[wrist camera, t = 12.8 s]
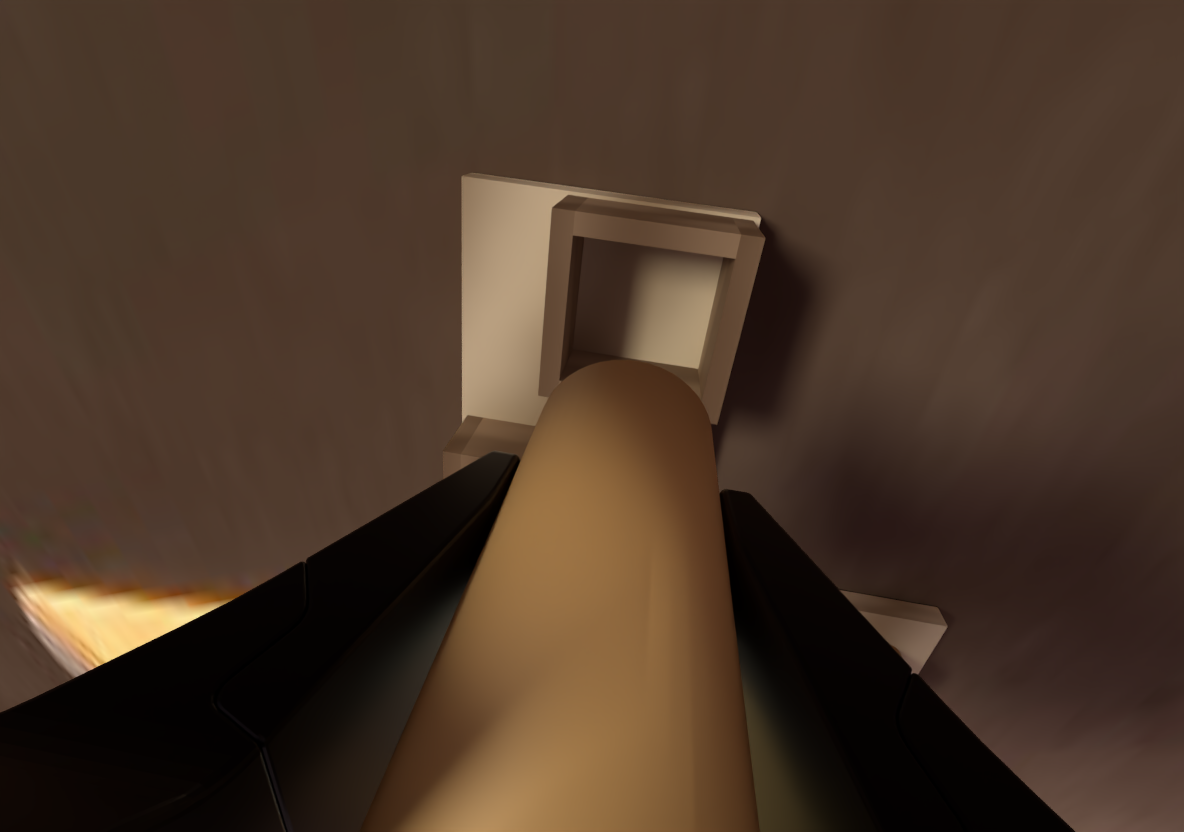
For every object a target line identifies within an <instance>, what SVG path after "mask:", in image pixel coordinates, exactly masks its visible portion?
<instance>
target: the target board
mask: <svg viewBox="0 0 1184 832" xmlns="http://www.w3.org/2000/svg"><path fill="white" fill-rule="evenodd" d="M760 221H761V217H760V216H759V214H758V213H757V212H751V211H744V210H737V209H730V208H723V207H715V206H708V205H701V204H694V203H687V202H679V201H672V200H665V199H658V198H651V197H644V196H636V195H629V194H622V193H615V192H608V191H600V190H593V189H586V188H579V187H572V186H564V185H557V184H550V183H543V182H536V181H529V180H521V179H514V178H507V177H500V176H493V175H485V174H478V173H470V174H467V175H464V176H462V424H461V425H460V427H459V428H458V430H457V431H456V433H455V434H454V436H453V437H452V439H451V440H450V442H449V443H448V444H447V446H446V447H445V449H444V450H443V479H444V478H446V477H448V476H450V475H451V474H453V473H455V472H457V471H458V470H460V469H462V468H463V467H465V466H467V465H469V464H470V463H472V462H474V461H476V460H477V459H479V458H481V457H482V456H484V455H486V454H488V453H489V452H491V451H501V452H507V453H513V454H517V455H518V456H519V458H520V461H521V458H522V456H523V454H524V452H525V449H526V447H527V445H528V442H529V440H530V438H531V435H532V433H533V431H534V429H535V426H536V424H537V422H538V419H539V417H540V415H541V412H542V410H543V408H544V406H545V404H546V402H547V400H548V398H549V396H550V395H551V393H552V392H553V391H554V389H555V388H556V387H557V386H558V385H559V384H560V383H561V382H562V381H563V380H564V379H566V378H567V377H568V376H569V375H571V374H573V373H574V372H576V371H578V370H579V369H582V368H584V367H586V366H589V365H592V364H595V363H599V362H603V361H610V360H634V361H640V362H645V363H649V364H652V365H655V366H658V367H661V368H663V369H665V370H667V371H669V372H671V373H673V374H674V375H676V376H677V377H679V378H680V379H682V380H683V381H684V382H685V383H686V384H687V385H688V386H690V387H691V388H692V390H693V391H694V392H695V393H696V394H697V395H698V397H699V398H700V400H701V401H702V403H703V405H704V407H705V409H706V411H707V413H708V416H709V419H710V423H711V424H716V425H717V424H718V420H719V416H720V412H721V408H722V404H723V401H724V397H725V393H726V389H727V385H728V381H729V377H730V373H731V370H732V366H733V362H734V358H735V354H736V350H737V346H738V343H739V339H740V335H741V331H742V327H743V323H744V319H745V316H746V312H747V308H748V304H749V300H750V296H751V292H752V288H753V285H754V281H755V277H756V273H757V269H758V265H759V261H760V258H761V254H762V250H763V246H764V242H765V237H764V235H763V234H762V232H761V231H760V229H759V225H760Z"/></svg>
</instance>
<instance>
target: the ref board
mask: <svg viewBox="0 0 1184 832" xmlns="http://www.w3.org/2000/svg"><path fill="white" fill-rule="evenodd" d="M840 591H841V592H842V593H843V594H844V595H845V596H846V597H847V599H848V600H849V601H850V602H851V603H852V604H853V605H854V606H855V607H856V608H857V609H858V610H859V612H860V613H861V614H862V615H863V616H864V617H865V618H866V619H867V620H868V621H869V622H870V623H871V624H872V626H873V627H874V628H875V629H876V630H877V631H878V632H879V633H880V634H881V635H882V636H883V637H884V639H885V640H886V641H887V642H888V643H889V644H890V645H891V646H892V647H893V648H894V649H895V650H896V651H897V653H898V654H899V655H900V656H901V657H902V658H903V659H904V660H905V661H906V662H907V663H908V664H909V666H910V667H911V668H912V673H916V674H919V672H920V670H921V669H922V667H923V666H924V664H925V662H926V661H927V659H928V658H929V656H930V654H931V653H932V651H933V650H934V648H935V646H936V645H937V643H938V642H939V640H940V638H941V637H942V635H943V634H944V632H945V630H946V629H947V627H948V626H947V624H946V622H945V620H944V618H943V617H942V615H941V613H940V611H939V609H938V607H933V606H928V605H922V604H916V603H911V602H905V601H899V600H894V599H888V598H882V597H877V596H871V595H865V594H860V593H854V592H848V591H843V590H840ZM912 673H911V674H912Z"/></svg>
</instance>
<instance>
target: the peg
mask: <svg viewBox="0 0 1184 832" xmlns="http://www.w3.org/2000/svg"><path fill="white" fill-rule="evenodd" d="M359 832H760V829H759V820H758V812H757V804H756V795H755V787H754V778H753V770H752V762H751V753H750V745H749V737H748V728H747V720H746V712H745V703H744V695H743V687H742V678H741V670H740V662H739V653H738V645H737V636H736V628H735V620H734V611H733V603H732V595H731V586H730V578H729V570H728V561H727V553H726V545H725V536H724V528H723V519H722V511H721V503H720V494H719V486H718V478H717V469H716V461H715V453H714V444H713V436H712V428H711V423H710V419H709V416H708V413H707V411H706V409H705V407H704V405H703V403H702V401H701V400H700V398H699V397H698V395H697V394H696V393H695V392H694V391H693V390H692V388H691V387H690V386H688V385H687V384H686V383H685V382H684V381H683V380H682V379H680V378H679V377H677V376H676V375H674V374H673V373H671V372H669V371H667V370H665V369H663V368H661V367H658V366H655V365H652V364H649V363H645V362H640V361H634V360H610V361H603V362H599V363H595V364H592V365H589V366H586V367H584V368H582V369H579V370H578V371H576V372H574V373H573V374H571V375H569V376H568V377H567V378H566V379H564V380H563V381H562V382H561V383H560V384H559V385H558V386H557V387H556V388H555V389H554V391H553V392H552V393H551V395H550V396H549V398H548V400H547V402H546V404H545V406H544V408H543V410H542V412H541V415H540V417H539V419H538V422H537V424H536V426H535V429H534V431H533V433H532V435H531V438H530V440H529V442H528V445H527V447H526V449H525V452H524V454H523V456H522V458H521V461H520V463H519V465H518V468H517V470H516V472H515V475H514V477H513V479H512V481H511V484H510V486H509V488H508V491H507V493H506V495H505V498H504V500H503V502H502V504H501V507H500V509H499V511H498V514H497V516H496V518H495V521H494V523H493V525H492V527H491V530H490V532H489V534H488V537H487V539H486V541H485V544H484V546H483V548H482V550H481V553H480V555H479V557H478V560H477V562H476V564H475V567H474V569H473V571H472V573H471V576H470V578H469V580H468V583H467V585H466V587H465V590H464V592H463V594H462V597H461V599H460V601H459V603H458V606H457V608H456V610H455V613H454V615H453V617H452V620H451V622H450V624H449V626H448V629H447V631H446V633H445V636H444V638H443V640H442V643H441V645H440V647H439V649H438V652H437V654H436V656H435V659H434V661H433V663H432V666H431V668H430V670H429V672H428V675H427V677H426V679H425V682H424V684H423V686H422V689H421V691H420V693H419V695H418V698H417V700H416V702H415V705H414V707H413V709H412V712H411V714H410V716H409V718H408V721H407V723H406V725H405V728H404V730H403V732H402V735H401V737H400V739H399V741H398V744H397V746H396V748H395V751H394V753H393V755H392V758H391V760H390V762H389V764H388V767H387V769H386V771H385V774H384V776H383V778H382V781H381V783H380V785H379V787H378V790H377V792H376V794H375V797H374V799H373V801H372V804H371V806H370V808H369V810H368V813H367V815H366V817H365V820H364V822H363V824H362V827H361V829H360V831H359Z"/></svg>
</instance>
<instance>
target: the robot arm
mask: <svg viewBox="0 0 1184 832" xmlns="http://www.w3.org/2000/svg"><path fill="white" fill-rule="evenodd" d="M519 463H520V458H519V456H518V455H517V454H513V453H507V452H501V451H491V452H489V453H488V454H486V455H484V456H482V457H481V458H479V459H477V460H476V461H474V462H472V463H470V464H469V465H467V466H465V467H463V468H462V469H460V470H458V471H457V472H455V473H453V474H451V475H450V476H448V477H446V478H444V479H443V480H441V481H439V482H438V483H436V484H434V485H432V486H431V487H429V488H427V489H426V490H424V491H422V492H420V493H419V494H417V495H415V496H413V497H412V498H410V499H408V500H407V501H405V502H403V503H401V504H400V505H398V506H396V507H395V508H393V509H391V510H389V511H388V512H386V513H384V514H382V515H381V516H379V517H377V518H376V519H374V520H372V521H370V522H369V523H367V524H365V525H364V526H362V527H360V528H358V529H357V530H355V531H353V532H351V533H350V534H348V535H346V536H345V537H343V538H341V539H339V540H338V541H336V542H334V543H332V544H331V545H329V546H327V547H326V548H324V549H322V550H320V551H319V552H317V553H315V554H314V555H312V556H310V557H308V558H307V560H306V563H305V562H299V563H298V564H296V565H294V566H292V567H291V568H289V569H287V570H286V571H284V572H282V573H280V574H279V575H277V576H275V577H273V578H272V579H270V580H268V581H266V582H264V583H263V584H261V585H259V586H257V587H255V588H254V589H252V590H250V591H248V592H246V593H244V594H243V595H241V596H239V597H237V598H235V599H234V600H232V601H230V602H228V603H226V604H224V605H222V606H220V607H218V608H216V609H214V610H212V611H210V612H208V613H206V614H204V615H202V616H200V617H198V618H196V619H194V620H192V621H190V622H188V623H186V624H185V625H183V626H181V627H179V628H177V629H175V630H172V631H170V632H168V633H166V634H164V635H162V636H160V637H158V638H156V639H154V640H152V641H150V642H148V643H146V644H144V645H142V646H140V647H137V648H135V649H133V650H131V651H129V652H127V653H125V654H123V655H121V656H119V657H117V658H115V659H113V660H111V661H109V662H107V663H104V664H102V665H100V666H98V667H96V668H94V669H92V670H90V671H88V672H86V673H84V674H82V675H80V676H78V677H76V678H74V679H72V680H69V681H67V682H65V683H63V684H61V685H59V686H57V687H55V688H53V689H51V690H49V691H47V692H45V693H43V694H41V695H39V696H36V697H34V698H32V699H30V700H28V701H26V702H23V703H21V704H19V705H17V706H14V707H12V708H10V709H8V710H5V711H3V712H0V832H359V831H360V829H361V827H362V824H363V822H364V820H365V817H366V815H367V813H368V810H369V808H370V806H371V804H372V801H373V799H374V797H375V794H376V792H377V790H378V787H379V785H380V783H381V781H382V778H383V776H384V774H385V771H386V769H387V767H388V764H389V762H390V760H391V758H392V755H393V753H394V751H395V748H396V746H397V744H398V741H399V739H400V737H401V735H402V732H403V730H404V728H405V725H406V723H407V721H408V718H409V716H410V714H411V712H412V709H413V707H414V705H415V702H416V700H417V698H418V695H419V693H420V691H421V689H422V686H423V684H424V682H425V679H426V677H427V675H428V672H429V670H430V668H431V666H432V663H433V661H434V659H435V656H436V654H437V652H438V649H439V647H440V645H441V643H442V640H443V638H444V636H445V633H446V631H447V629H448V626H449V624H450V622H451V620H452V617H453V615H454V613H455V610H456V608H457V606H458V603H459V601H460V599H461V597H462V594H463V592H464V590H465V587H466V585H467V583H468V580H469V578H470V576H471V573H472V571H473V569H474V567H475V564H476V562H477V560H478V557H479V555H480V553H481V550H482V548H483V546H484V544H485V541H486V539H487V537H488V534H489V532H490V530H491V527H492V525H493V523H494V521H495V518H496V516H497V514H498V511H499V509H500V507H501V504H502V502H503V500H504V498H505V495H506V493H507V491H508V488H509V486H510V484H511V481H512V479H513V477H514V475H515V472H516V470H517V468H518V465H519ZM720 503H721V511H722V519H723V528H724V536H725V545H726V553H727V561H728V570H729V578H730V586H731V595H732V603H733V611H734V620H735V628H736V636H737V645H738V653H739V662H740V670H741V678H742V687H743V695H744V703H745V712H746V720H747V728H748V737H749V745H750V753H751V762H752V770H753V778H754V787H755V795H756V804H757V812H758V820H759V829H760V832H1075V831H1074V830H1073V829H1072V828H1071V827H1070V826H1069V825H1068V824H1067V823H1066V822H1065V821H1064V820H1063V819H1061V818H1060V817H1059V816H1058V815H1057V814H1056V813H1055V812H1054V811H1053V810H1052V809H1051V808H1050V807H1049V806H1048V805H1047V804H1046V803H1045V802H1043V801H1042V800H1041V799H1040V798H1039V797H1038V796H1037V795H1036V794H1035V793H1034V792H1033V791H1032V790H1031V789H1030V788H1029V787H1028V786H1027V785H1026V784H1025V783H1024V782H1023V781H1022V780H1021V779H1020V778H1019V777H1018V776H1017V775H1015V774H1014V773H1013V772H1012V771H1011V770H1010V769H1009V768H1008V767H1007V766H1006V765H1005V764H1004V763H1003V762H1002V761H1001V760H1000V759H999V758H998V757H997V756H996V755H995V754H994V753H993V752H992V751H991V750H990V749H989V748H988V747H987V746H986V745H985V744H984V743H983V742H982V741H981V740H980V739H979V738H978V737H977V736H976V735H975V734H974V733H973V732H972V731H971V730H970V729H969V728H968V727H967V726H966V725H965V724H964V723H963V722H962V721H961V719H960V718H959V717H958V716H957V715H956V714H955V713H954V712H953V711H952V710H951V709H950V708H949V707H948V706H947V705H946V704H945V703H944V702H943V701H942V700H941V699H940V698H939V696H938V695H937V694H936V693H935V692H934V691H933V690H932V689H931V688H930V687H929V686H928V685H927V684H926V682H925V681H924V680H923V679H922V678H921V677H920V676H919V675H918V674H916V673H912V668H911V667H910V666H909V664H908V663H907V662H906V661H905V660H904V659H903V658H902V657H901V656H900V655H899V654H898V653H897V651H896V650H895V649H894V648H893V647H892V646H891V645H890V644H889V643H888V642H887V641H886V640H885V639H884V637H883V636H882V635H881V634H880V633H879V632H878V631H877V630H876V629H875V628H874V627H873V626H872V624H871V623H870V622H869V621H868V620H867V619H866V618H865V617H864V616H863V615H862V614H861V613H860V612H859V610H858V609H857V608H856V607H855V606H854V605H853V604H852V603H851V602H850V601H849V600H848V599H847V597H846V596H845V595H844V594H843V593H842V592H841V591H840V590H839V589H838V588H837V587H836V586H835V585H834V583H833V582H832V581H831V580H830V579H829V578H828V577H827V576H826V575H825V574H824V573H823V572H822V570H821V569H820V568H819V567H818V566H817V565H816V564H815V563H814V562H813V561H812V560H811V559H810V558H809V556H808V555H807V554H806V553H805V552H804V551H803V550H802V549H801V548H800V547H799V546H798V545H797V543H796V542H795V541H794V540H793V539H792V538H791V537H790V536H789V535H788V534H787V533H786V532H785V531H784V529H783V528H782V527H781V526H780V525H779V524H778V523H777V522H776V521H775V520H774V519H773V518H772V516H771V515H770V514H769V513H768V512H767V511H766V510H765V509H764V508H763V507H762V506H761V505H760V504H759V502H758V501H757V500H756V499H755V498H754V497H753V496H752V495H751V494H749V493H747V492H741V491H734V490H728V489H724V490H722V491H721V492H720ZM911 673H912V674H911Z"/></svg>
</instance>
